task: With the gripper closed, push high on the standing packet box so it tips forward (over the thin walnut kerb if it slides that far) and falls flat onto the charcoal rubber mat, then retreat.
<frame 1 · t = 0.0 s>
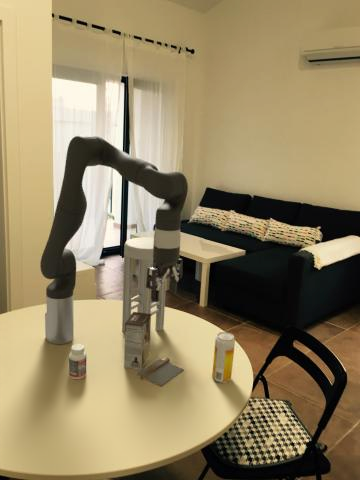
hand: (164, 297, 131), 29 cm above the table, fingers open, 8 cm apart
pill bottle: (77, 375, 141), on the table
mat: (160, 372, 145), on the table
kerb: (155, 370, 146), resting on mat
beer can: (221, 378, 144), on the table
stool: (142, 330, 173), on the table
coffee box: (136, 362, 151), on the table
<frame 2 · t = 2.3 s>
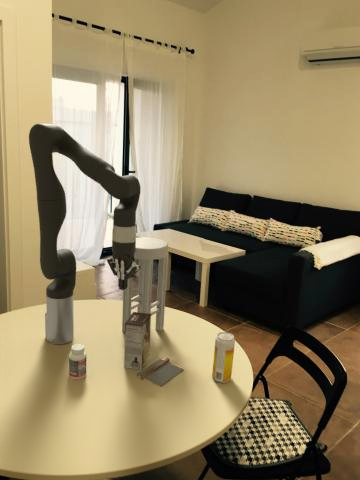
hand: (122, 289, 148), 24 cm above the table, fingers closed
nothing on the table moved.
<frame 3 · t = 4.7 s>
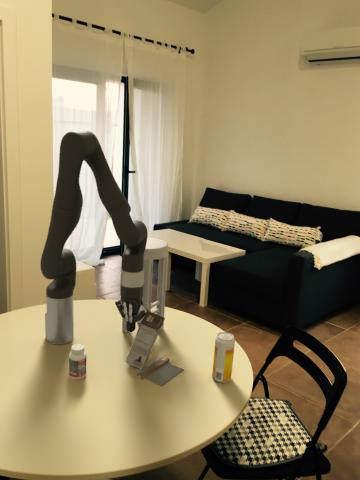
hand: (130, 331, 150), 10 cm above the table, fingers closed
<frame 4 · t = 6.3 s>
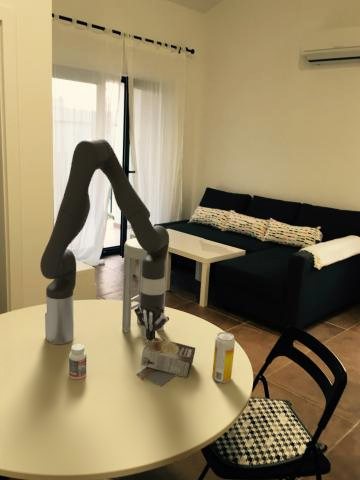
hand: (150, 339, 145), 10 cm above the table, fingers closed
coffee box: (144, 350, 148), point 5 cm above the table, touching kerb
everything else where it was.
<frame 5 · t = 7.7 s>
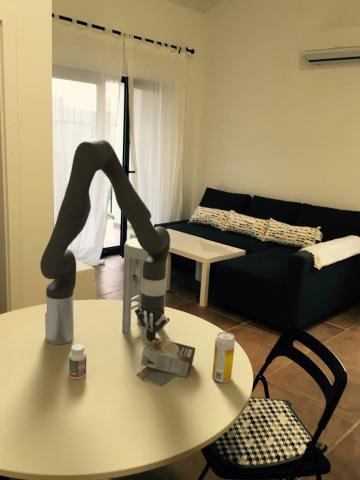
hand: (150, 340, 145), 10 cm above the table, fingers closed
coffee box: (144, 349, 148), point 5 cm above the table, touching kerb, mat
everything else where it was.
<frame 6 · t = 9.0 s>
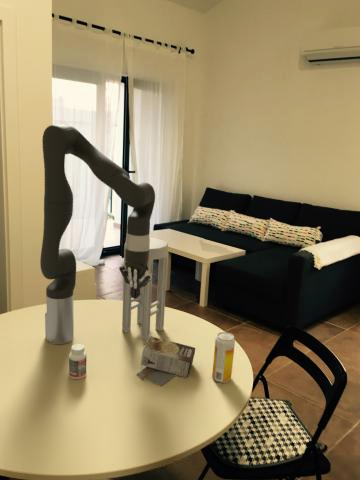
hand: (134, 297, 146), 23 cm above the table, fingers closed
nothing on the table moved.
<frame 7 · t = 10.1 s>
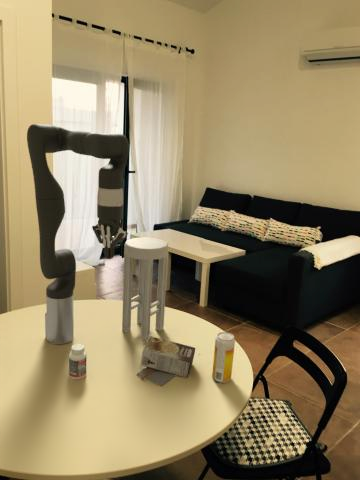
hand: (109, 258, 138), 37 cm above the table, fingers closed
nothing on the table moved.
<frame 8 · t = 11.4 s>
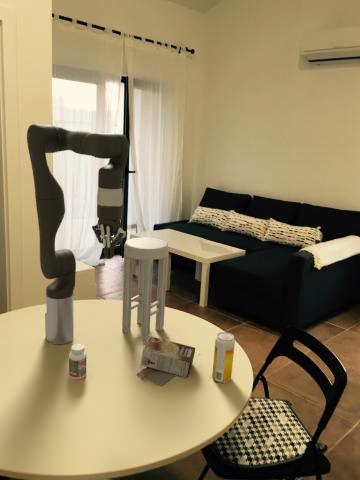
hand: (108, 258, 138), 37 cm above the table, fingers closed
nothing on the table moved.
at the end: coffee box tilted 97°; coffee box inside the target area (9.8 cm from its centre), point 5.2 cm above the table; coffee box moved 5.9 cm from its start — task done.
